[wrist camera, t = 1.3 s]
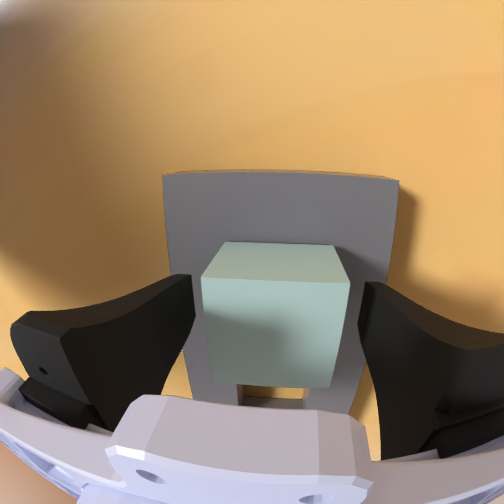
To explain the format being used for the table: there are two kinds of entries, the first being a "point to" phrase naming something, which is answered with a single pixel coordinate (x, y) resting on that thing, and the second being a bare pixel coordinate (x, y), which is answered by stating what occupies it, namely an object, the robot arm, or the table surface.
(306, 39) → the table surface
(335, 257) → the plug
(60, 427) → the robot arm
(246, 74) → the table surface
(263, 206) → the grey peg board
